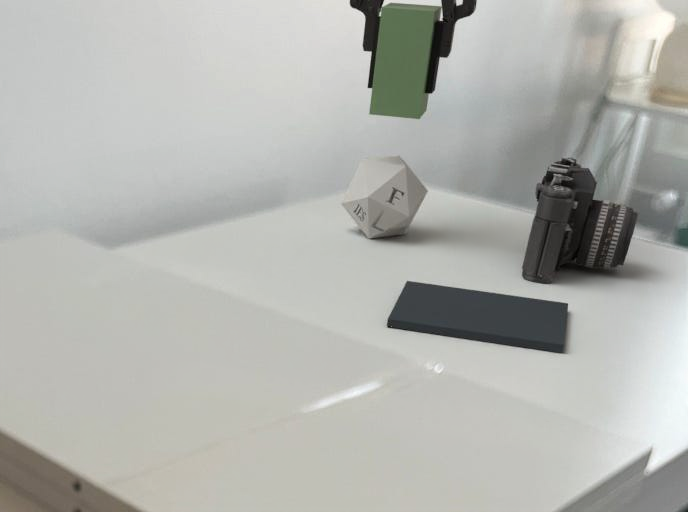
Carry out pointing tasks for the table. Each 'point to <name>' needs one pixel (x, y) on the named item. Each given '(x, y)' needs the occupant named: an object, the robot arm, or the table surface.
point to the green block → (403, 60)
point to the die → (384, 196)
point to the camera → (575, 224)
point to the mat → (481, 316)
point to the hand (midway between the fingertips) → (401, 88)
